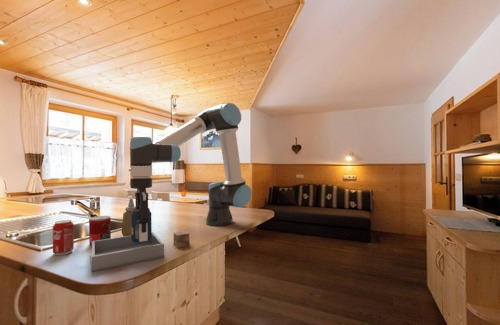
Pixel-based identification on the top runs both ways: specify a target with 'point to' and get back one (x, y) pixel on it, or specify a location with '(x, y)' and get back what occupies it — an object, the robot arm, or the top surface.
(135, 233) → the soda can
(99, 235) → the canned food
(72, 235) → the beverage can
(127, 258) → the tote
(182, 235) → the walnut cube
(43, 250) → the top surface
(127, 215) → the squeeze bottle
